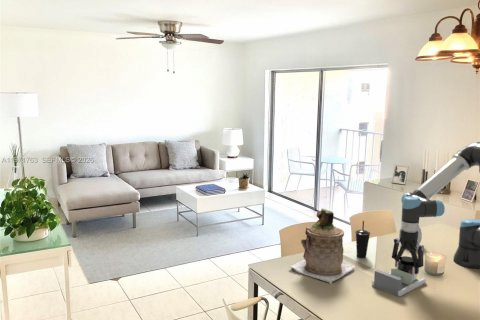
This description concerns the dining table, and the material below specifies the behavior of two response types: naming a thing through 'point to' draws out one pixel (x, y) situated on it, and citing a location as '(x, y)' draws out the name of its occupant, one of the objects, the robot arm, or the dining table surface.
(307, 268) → the cookie jar
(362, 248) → the drinking cup
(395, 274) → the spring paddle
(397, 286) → the pusher lane
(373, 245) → the dining table surface
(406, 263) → the supplement container
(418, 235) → the decorative egg
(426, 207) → the robot arm
